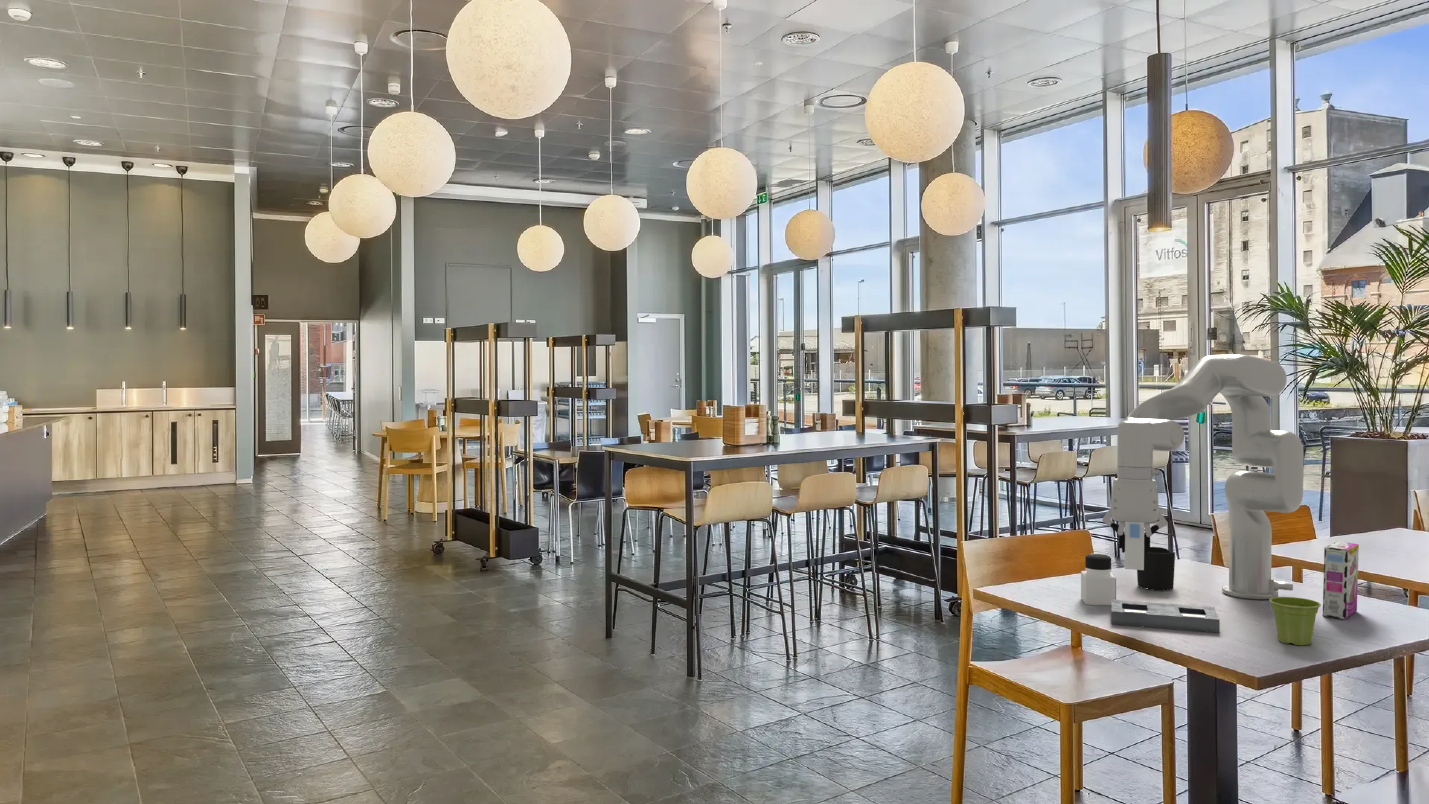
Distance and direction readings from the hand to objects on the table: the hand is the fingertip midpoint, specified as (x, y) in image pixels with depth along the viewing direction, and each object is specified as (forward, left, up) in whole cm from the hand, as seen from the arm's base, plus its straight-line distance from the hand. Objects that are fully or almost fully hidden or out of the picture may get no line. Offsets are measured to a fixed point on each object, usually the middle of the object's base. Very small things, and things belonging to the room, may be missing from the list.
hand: (1134, 551), depth 223 cm
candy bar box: (-45, -21, -16) cm, 52 cm away
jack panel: (-6, 0, -16) cm, 17 cm away
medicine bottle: (+8, -15, -16) cm, 24 cm away
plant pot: (-31, +8, -16) cm, 36 cm away
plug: (0, 0, -4) cm, 4 cm away
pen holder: (-6, -37, -16) cm, 41 cm away
